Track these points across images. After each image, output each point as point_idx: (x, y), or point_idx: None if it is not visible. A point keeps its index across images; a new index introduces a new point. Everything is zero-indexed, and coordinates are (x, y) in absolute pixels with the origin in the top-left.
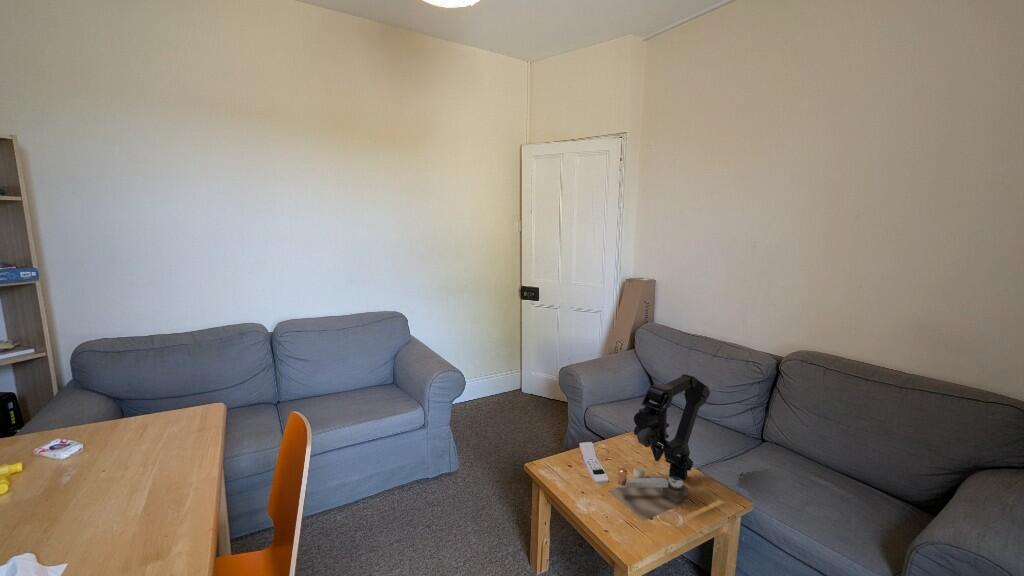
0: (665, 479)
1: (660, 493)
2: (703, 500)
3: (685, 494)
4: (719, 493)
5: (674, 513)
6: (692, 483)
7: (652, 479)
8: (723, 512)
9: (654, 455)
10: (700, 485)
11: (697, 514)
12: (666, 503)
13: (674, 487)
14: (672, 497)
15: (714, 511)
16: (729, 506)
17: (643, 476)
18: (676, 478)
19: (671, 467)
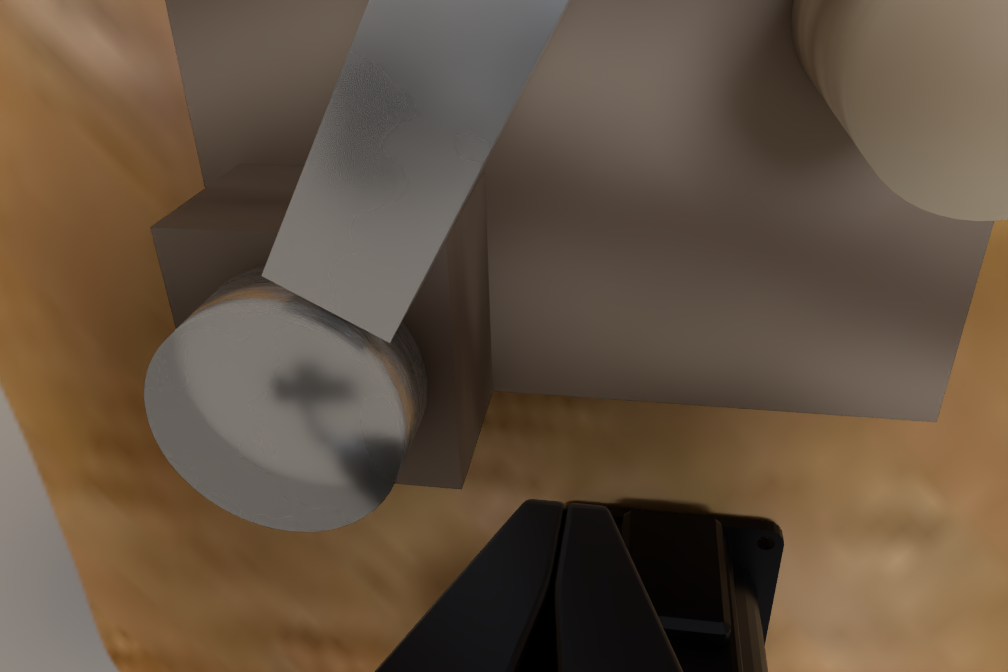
0: (358, 302)
1: (511, 158)
2: None
3: None
4: (297, 666)
5: (172, 35)
6: None
7: (479, 47)
8: (63, 488)
9: (590, 647)
10: None
11: (90, 268)
12: (284, 46)
13: (211, 295)
14: (272, 187)
15: (93, 440)
16: (122, 586)
17: (832, 76)
18: (304, 477)
19: (706, 668)
